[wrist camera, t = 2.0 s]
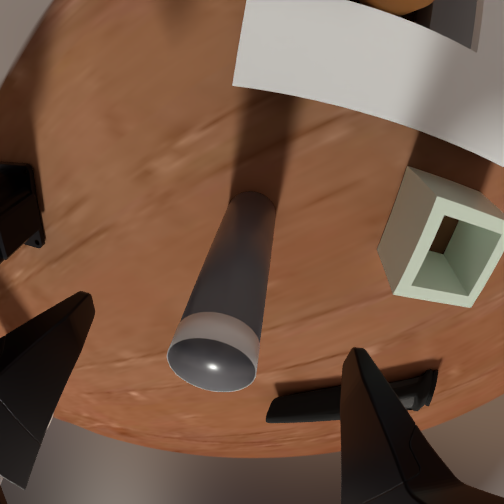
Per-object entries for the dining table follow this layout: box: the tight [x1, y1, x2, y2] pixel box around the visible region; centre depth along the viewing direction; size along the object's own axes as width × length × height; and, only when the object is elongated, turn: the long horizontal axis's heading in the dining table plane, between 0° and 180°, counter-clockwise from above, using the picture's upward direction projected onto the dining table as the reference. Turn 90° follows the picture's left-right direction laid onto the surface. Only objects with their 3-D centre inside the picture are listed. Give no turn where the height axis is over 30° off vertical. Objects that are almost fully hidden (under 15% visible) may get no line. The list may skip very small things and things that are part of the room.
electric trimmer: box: [266, 369, 438, 423], centre depth 24 cm, size 4×16×3 cm, turn 103°
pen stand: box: [377, 166, 504, 308], centre depth 14 cm, size 5×5×4 cm
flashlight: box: [167, 192, 276, 392], centre depth 13 cm, size 3×3×10 cm
